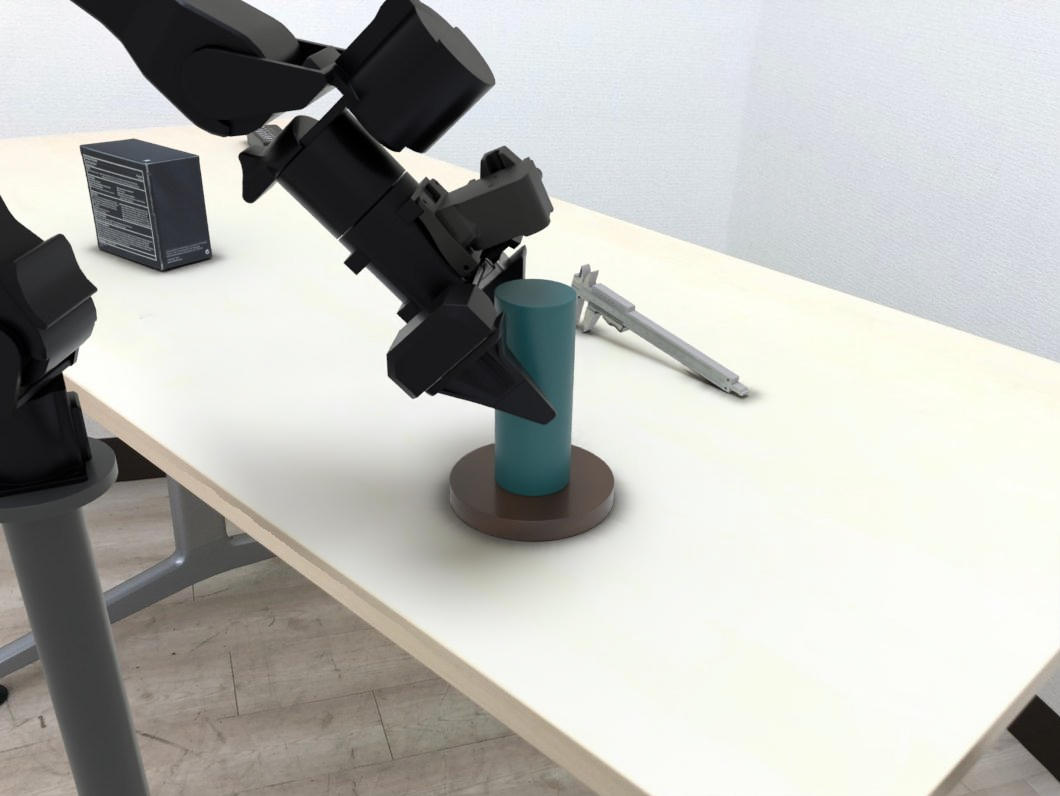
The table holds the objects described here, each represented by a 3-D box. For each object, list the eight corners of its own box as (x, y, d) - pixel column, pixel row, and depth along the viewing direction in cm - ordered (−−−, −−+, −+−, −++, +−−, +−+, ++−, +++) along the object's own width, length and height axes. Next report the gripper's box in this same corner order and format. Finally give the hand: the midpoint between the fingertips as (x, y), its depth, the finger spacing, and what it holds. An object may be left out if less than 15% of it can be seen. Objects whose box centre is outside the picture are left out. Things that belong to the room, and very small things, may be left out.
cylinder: (479, 481, 69) (477, 294, 62) (521, 452, 73) (524, 273, 66) (543, 504, 67) (548, 313, 60) (583, 472, 71) (592, 290, 64)
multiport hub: (278, 140, 152) (276, 124, 151) (298, 158, 144) (296, 141, 143) (246, 141, 150) (245, 125, 148) (265, 160, 142) (263, 142, 141)
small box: (218, 257, 107) (203, 153, 102) (162, 272, 102) (144, 164, 97) (151, 235, 112) (135, 134, 106) (95, 249, 107) (75, 144, 102)
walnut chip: (488, 557, 64) (488, 536, 63) (426, 474, 72) (425, 456, 71) (643, 518, 69) (644, 499, 68) (568, 445, 77) (569, 427, 76)
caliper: (567, 326, 97) (569, 261, 94) (575, 324, 98) (577, 259, 95) (741, 399, 86) (751, 328, 83) (749, 395, 87) (758, 325, 84)
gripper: (440, 149, 50) (653, 374, 56) (490, 82, 66) (651, 262, 72) (291, 294, 54) (505, 491, 60) (373, 197, 70) (535, 360, 76)
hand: (556, 389), depth 67 cm, fingers open, 8 cm apart
